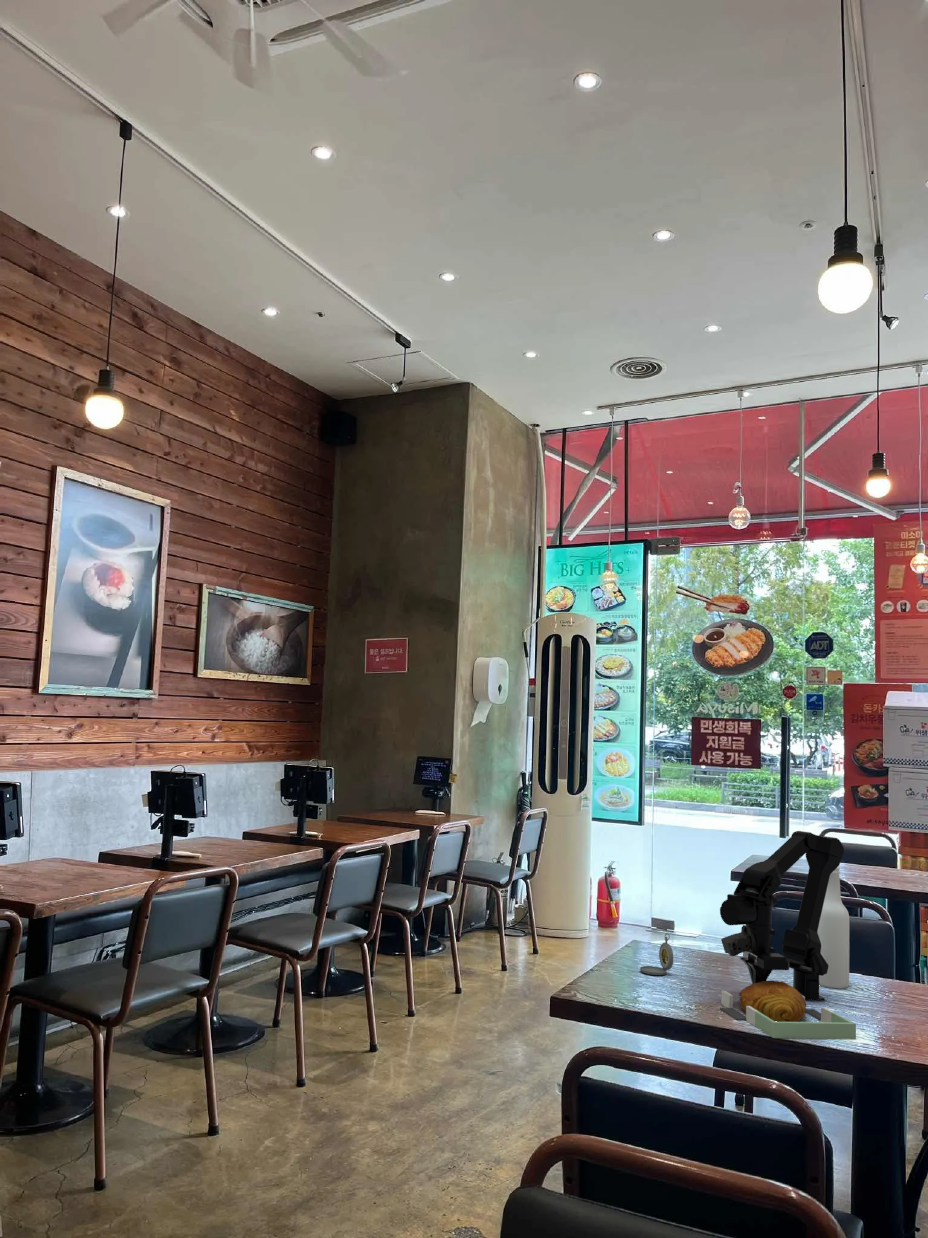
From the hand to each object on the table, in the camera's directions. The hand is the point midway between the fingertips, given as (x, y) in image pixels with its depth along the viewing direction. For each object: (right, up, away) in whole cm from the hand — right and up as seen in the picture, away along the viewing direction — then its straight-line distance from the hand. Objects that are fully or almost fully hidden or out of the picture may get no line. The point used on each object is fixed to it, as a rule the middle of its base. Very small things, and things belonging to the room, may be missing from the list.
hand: (757, 992), depth 212 cm
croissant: (+1, -2, -8) cm, 8 cm away
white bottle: (+26, -8, +22) cm, 35 cm away
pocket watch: (-18, -5, +23) cm, 30 cm away
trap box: (+2, -1, -13) cm, 13 cm away
